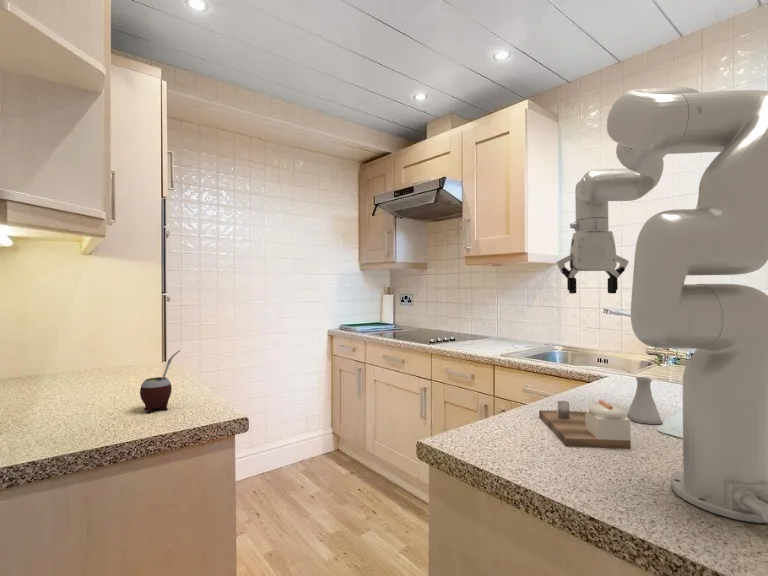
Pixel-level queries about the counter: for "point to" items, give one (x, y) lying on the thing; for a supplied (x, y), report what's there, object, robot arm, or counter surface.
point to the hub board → (576, 429)
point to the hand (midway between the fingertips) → (592, 293)
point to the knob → (607, 421)
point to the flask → (643, 404)
